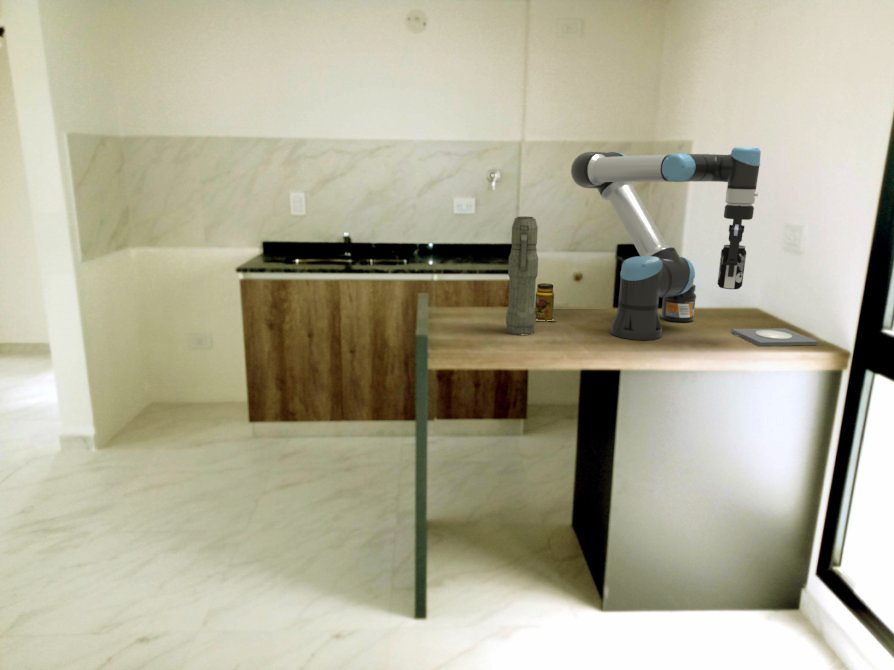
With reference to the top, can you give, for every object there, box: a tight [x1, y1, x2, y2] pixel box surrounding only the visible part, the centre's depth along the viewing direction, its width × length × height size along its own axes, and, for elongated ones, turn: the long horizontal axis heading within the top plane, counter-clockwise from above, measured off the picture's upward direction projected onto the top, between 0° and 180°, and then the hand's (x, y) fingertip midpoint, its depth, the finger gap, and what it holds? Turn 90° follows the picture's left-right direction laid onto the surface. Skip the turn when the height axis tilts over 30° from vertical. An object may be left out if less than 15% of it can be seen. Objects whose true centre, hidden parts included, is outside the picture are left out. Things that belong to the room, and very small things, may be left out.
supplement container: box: [660, 283, 697, 323], centre depth 227 cm, size 10×10×12 cm
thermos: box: [505, 216, 539, 336], centre depth 205 cm, size 9×12×35 cm
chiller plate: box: [730, 327, 819, 347], centre depth 205 cm, size 18×16×2 cm
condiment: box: [534, 282, 555, 321], centre depth 225 cm, size 7×8×12 cm
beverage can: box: [716, 244, 747, 290], centre depth 194 cm, size 7×7×12 cm
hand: (729, 285), depth 195 cm, fingers closed on beverage can, 7 cm apart
